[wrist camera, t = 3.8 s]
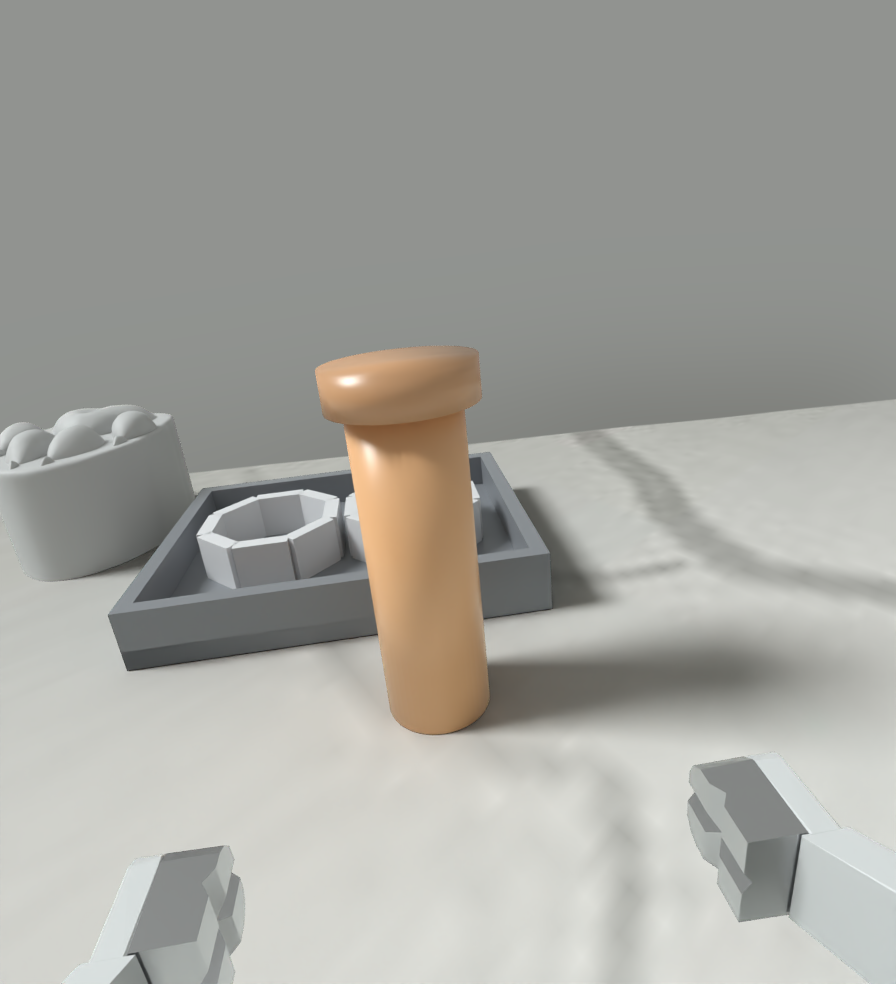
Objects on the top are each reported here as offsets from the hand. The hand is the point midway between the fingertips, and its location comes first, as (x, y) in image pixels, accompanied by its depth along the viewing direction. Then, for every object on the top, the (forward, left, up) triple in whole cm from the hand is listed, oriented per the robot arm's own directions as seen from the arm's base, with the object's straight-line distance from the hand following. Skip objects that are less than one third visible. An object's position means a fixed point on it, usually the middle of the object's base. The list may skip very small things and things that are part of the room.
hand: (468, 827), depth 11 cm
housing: (-20, -16, -7) cm, 26 cm away
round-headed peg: (-10, -6, -7) cm, 14 cm away
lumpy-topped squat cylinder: (-19, -36, -7) cm, 41 cm away
